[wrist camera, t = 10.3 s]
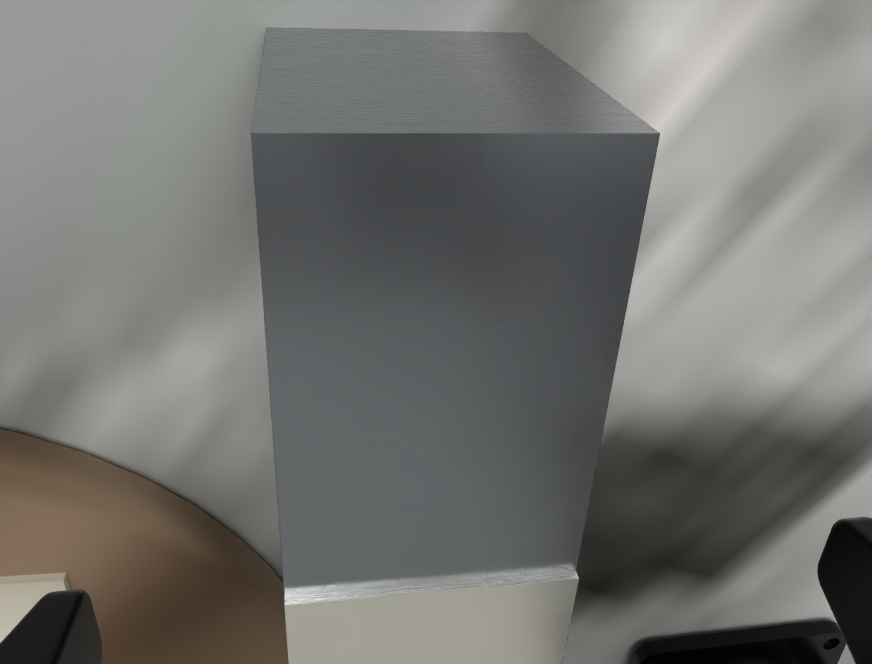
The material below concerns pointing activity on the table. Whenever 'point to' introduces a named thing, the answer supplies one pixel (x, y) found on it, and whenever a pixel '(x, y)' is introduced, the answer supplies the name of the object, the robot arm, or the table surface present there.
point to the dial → (131, 561)
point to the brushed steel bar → (438, 333)
